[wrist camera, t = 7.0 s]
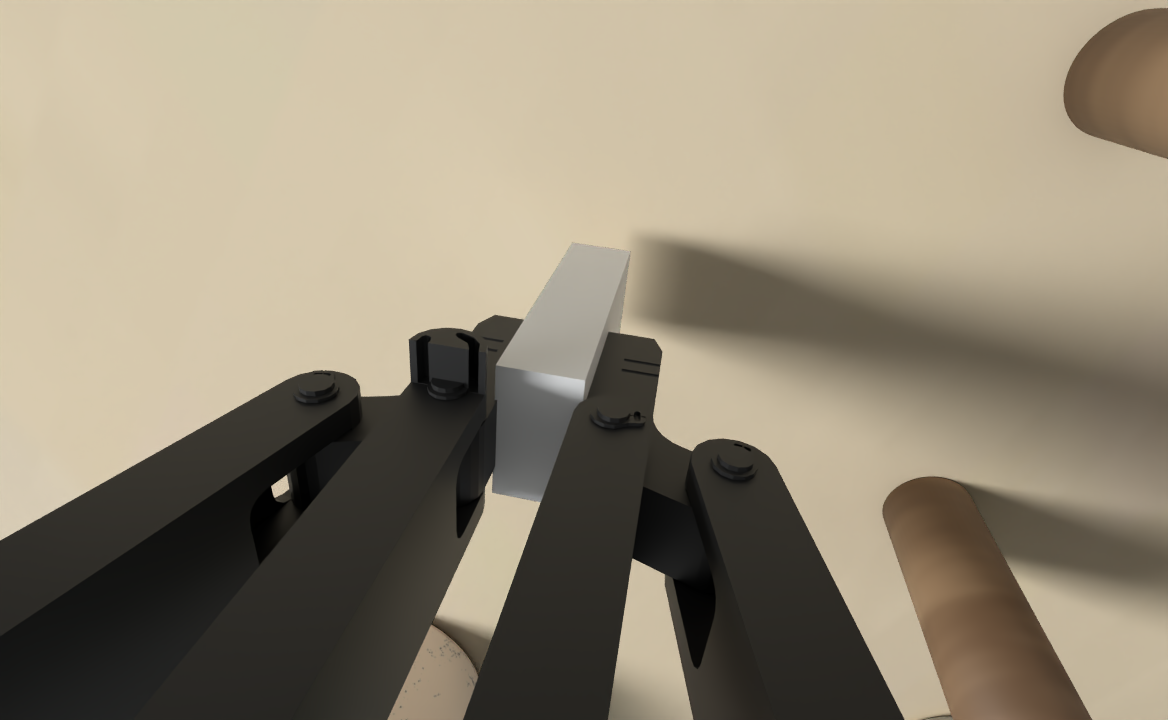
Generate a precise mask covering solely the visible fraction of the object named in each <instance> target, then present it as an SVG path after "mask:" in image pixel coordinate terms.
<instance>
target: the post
mask: <svg viewBox="0 0 1168 720" xmlns="http://www.w3.org/2000/svg"><path fill="white" fill-rule="evenodd" d="M883 518H884V521H885V524H886V527H887V530H888V533H889V536H890V538H891V541H892V544H893V547H894V550H895V553H896V556H897V559H898V562H899V564H900V567H901V570H902V573H903V576H904V579H905V582H906V585H907V588H908V591H909V593H910V596H911V599H912V602H913V605H914V608H915V611H916V614H917V617H918V620H919V622H920V625H921V628H922V631H923V634H924V637H925V640H926V643H927V646H928V648H929V651H930V654H931V657H932V660H933V663H934V666H935V669H936V672H937V675H938V677H939V680H940V683H941V686H942V689H943V692H944V695H945V698H946V701H947V704H948V706H949V709H950V712H951V715H952V718H953V720H1092V719H1091V717H1090V715H1089V713H1088V711H1087V709H1086V708H1085V706H1084V704H1083V702H1082V700H1081V698H1080V697H1079V695H1078V693H1077V691H1076V689H1075V687H1074V686H1073V684H1072V682H1071V680H1070V678H1069V676H1068V675H1067V673H1066V671H1065V669H1064V667H1063V665H1062V664H1061V662H1060V660H1059V658H1058V656H1057V654H1056V652H1055V651H1054V649H1053V647H1052V645H1051V643H1050V641H1049V640H1048V638H1047V636H1046V634H1045V632H1044V630H1043V629H1042V627H1041V625H1040V623H1039V621H1038V619H1037V618H1036V616H1035V614H1034V612H1033V610H1032V608H1031V607H1030V605H1029V603H1028V601H1027V599H1026V597H1025V595H1024V594H1023V592H1022V590H1021V588H1020V586H1019V584H1018V583H1017V581H1016V579H1015V577H1014V575H1013V573H1012V572H1011V570H1010V568H1009V566H1008V564H1007V562H1006V561H1005V559H1004V557H1003V555H1002V553H1001V551H1000V550H999V548H998V546H997V544H996V542H995V540H994V538H993V537H992V535H991V533H990V531H989V529H988V527H987V526H986V524H985V522H984V520H983V518H982V516H981V515H980V513H979V511H978V509H977V507H976V505H975V504H974V502H973V500H972V498H971V496H970V494H969V493H968V492H967V490H966V489H965V488H963V487H962V486H961V485H959V484H958V483H956V482H954V481H951V480H948V479H944V478H938V477H924V478H918V479H914V480H911V481H908V482H906V483H904V484H902V485H900V486H899V487H897V488H896V489H894V490H893V491H892V492H891V493H890V494H889V496H888V497H887V498H886V500H885V502H884V505H883Z"/></svg>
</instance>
